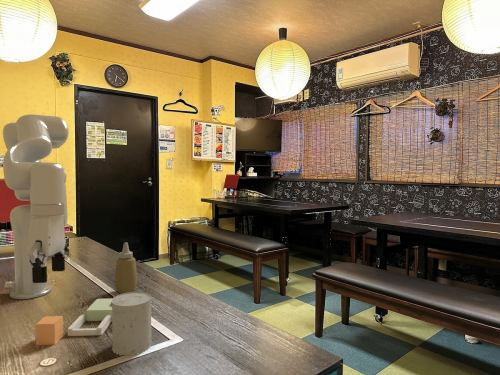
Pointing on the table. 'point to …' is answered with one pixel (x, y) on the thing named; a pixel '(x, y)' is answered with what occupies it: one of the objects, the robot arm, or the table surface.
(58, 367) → the table surface
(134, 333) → the speckled stone cylinder
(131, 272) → the squeeze bottle
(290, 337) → the table surface
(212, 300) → the table surface
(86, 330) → the green plate with dome
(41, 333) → the matte orange cube
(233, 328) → the table surface
